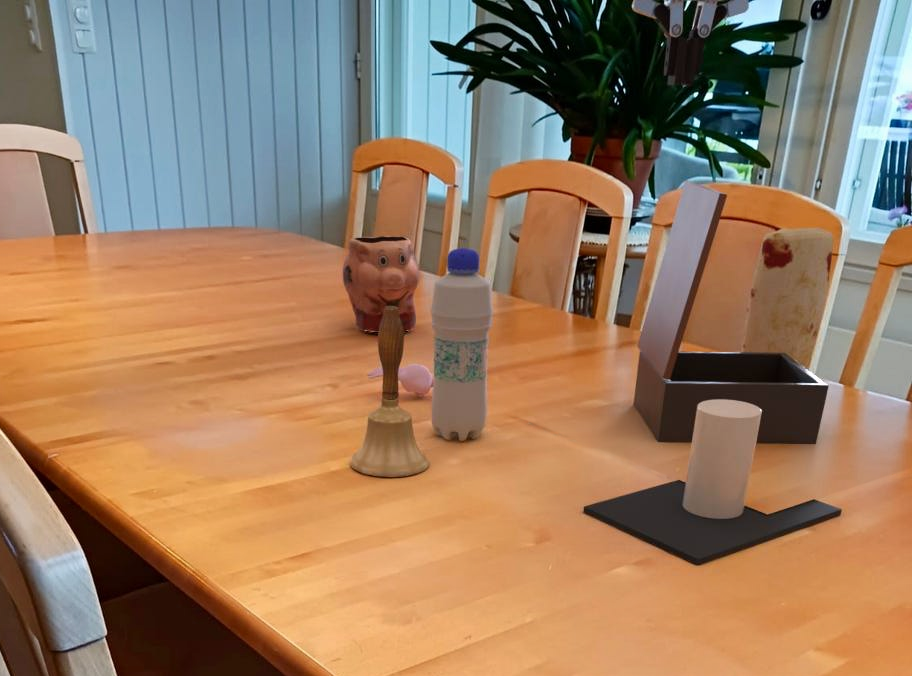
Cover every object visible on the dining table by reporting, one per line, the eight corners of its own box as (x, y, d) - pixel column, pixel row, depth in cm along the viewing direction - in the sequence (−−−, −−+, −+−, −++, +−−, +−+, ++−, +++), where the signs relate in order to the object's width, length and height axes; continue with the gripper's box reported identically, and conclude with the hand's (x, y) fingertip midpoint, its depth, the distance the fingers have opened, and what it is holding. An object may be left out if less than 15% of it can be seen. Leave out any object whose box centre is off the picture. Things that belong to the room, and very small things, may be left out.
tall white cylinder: (709, 492, 95) (725, 395, 90) (756, 510, 91) (775, 410, 86) (669, 504, 92) (684, 405, 87) (716, 524, 88) (733, 421, 83)
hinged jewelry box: (773, 412, 121) (785, 352, 117) (814, 450, 108) (828, 385, 104) (632, 410, 120) (639, 350, 117) (656, 448, 108) (665, 383, 104)
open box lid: (692, 181, 108) (685, 180, 107) (727, 194, 95) (719, 193, 95) (643, 347, 117) (636, 346, 116) (669, 379, 104) (662, 378, 104)
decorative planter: (328, 317, 165) (325, 229, 158) (395, 313, 169) (395, 227, 162) (365, 343, 149) (363, 246, 142) (439, 337, 153) (440, 243, 146)
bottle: (493, 442, 109) (502, 252, 99) (434, 445, 108) (437, 253, 98) (481, 424, 114) (488, 243, 104) (424, 427, 113) (426, 243, 103)
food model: (742, 393, 128) (771, 229, 118) (726, 379, 134) (752, 222, 124) (814, 393, 128) (849, 230, 118) (796, 379, 134) (827, 223, 124)
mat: (723, 471, 101) (724, 466, 101) (840, 515, 92) (842, 509, 91) (582, 512, 91) (583, 506, 91) (697, 565, 81) (698, 559, 81)
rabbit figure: (473, 397, 129) (362, 383, 125) (482, 352, 126) (369, 336, 123) (484, 410, 124) (369, 396, 120) (494, 364, 121) (376, 347, 117)
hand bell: (413, 448, 107) (414, 296, 99) (440, 473, 100) (443, 312, 92) (340, 455, 104) (335, 301, 96) (363, 481, 97) (359, 317, 90)
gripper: (633, -161, 84) (610, 84, 93) (806, -157, 84) (767, 86, 93) (618, -143, 91) (598, 84, 100) (779, -140, 91) (745, 86, 100)
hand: (680, 84), depth 97 cm, fingers closed
